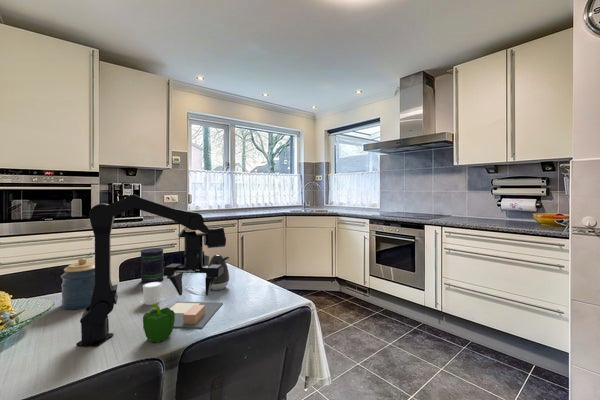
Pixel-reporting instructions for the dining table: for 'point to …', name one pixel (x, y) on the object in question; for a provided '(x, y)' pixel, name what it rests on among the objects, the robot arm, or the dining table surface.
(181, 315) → the rubber mat
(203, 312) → the flat block
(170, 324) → the bell pepper
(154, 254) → the storage jar
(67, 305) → the canister
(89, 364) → the dining table surface
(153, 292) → the white cup
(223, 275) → the pump dispenser
